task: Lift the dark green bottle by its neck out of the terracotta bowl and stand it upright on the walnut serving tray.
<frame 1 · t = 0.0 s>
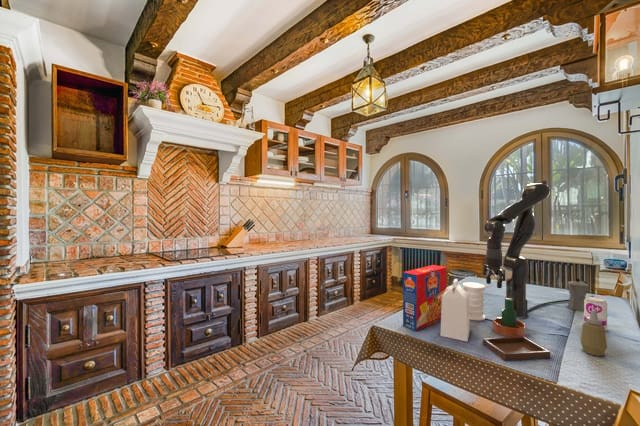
hand: (493, 285, 158), 17 cm above the table, tool pointing down, fingers open, 8 cm apart
tray: (514, 350, 121), on the table
pasta box: (425, 321, 153), on the table
squeeze bottle: (593, 353, 119), on the table
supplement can: (595, 328, 142), on the table
bottle: (508, 331, 138), point 1 cm above the table, touching bowl
bowl: (508, 332, 138), on the table
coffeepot: (578, 308, 170), on the table
decorative container: (473, 317, 158), on the table
milk: (455, 334, 138), on the table
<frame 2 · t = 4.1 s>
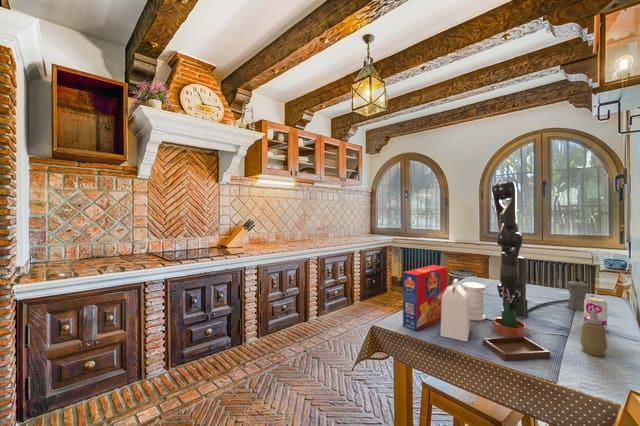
hand: (508, 308, 138), 12 cm above the table, tool pointing down, fingers closed on bottle, 3 cm apart
bottle: (508, 331, 138), point 1 cm above the table, touching bowl, gripper
everything else where it was.
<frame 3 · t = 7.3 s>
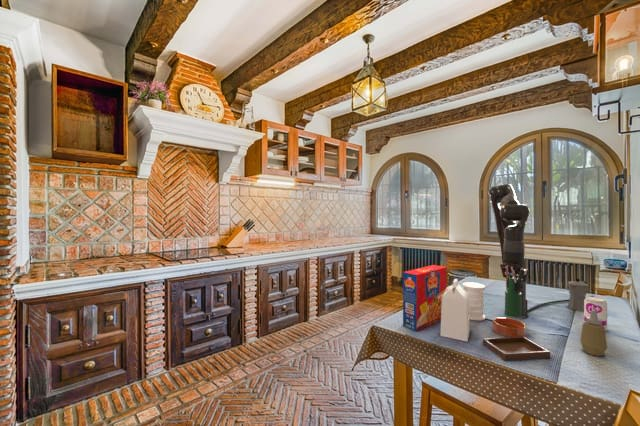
hand: (513, 289, 124), 25 cm above the table, tool pointing down, fingers closed on bottle, 3 cm apart
bottle: (513, 314, 124), point 14 cm above the table, touching gripper
everything else where it was.
when the fingers open (12 cm above the table, at t = 10.9 s): bottle stays where it is, resting on tray.
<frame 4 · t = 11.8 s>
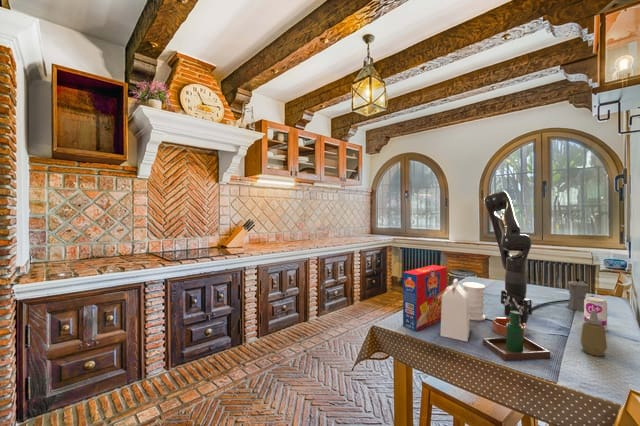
hand: (515, 319, 121), 14 cm above the table, tool pointing down, fingers open, 8 cm apart
bottle: (514, 349, 121), point 1 cm above the table, touching tray
everything else where it was.
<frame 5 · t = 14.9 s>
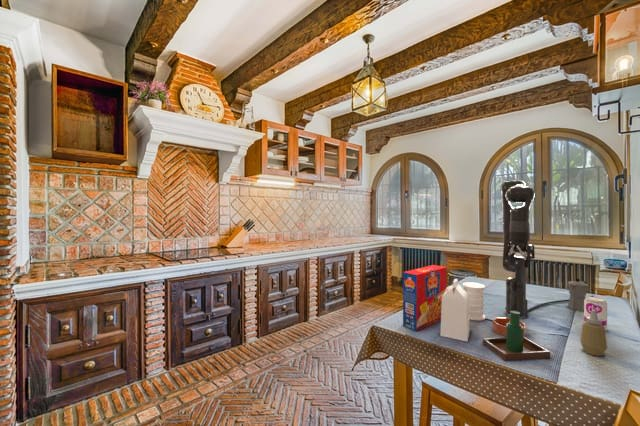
hand: (519, 265, 131), 34 cm above the table, tool pointing down, fingers open, 8 cm apart
nothing on the table moved.
at the end: bottle inside the target area in the tray (0.1 cm from its centre), point 0.6 cm above the tray's base; bottle tilted 0°; the gripper is holding nothing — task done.
